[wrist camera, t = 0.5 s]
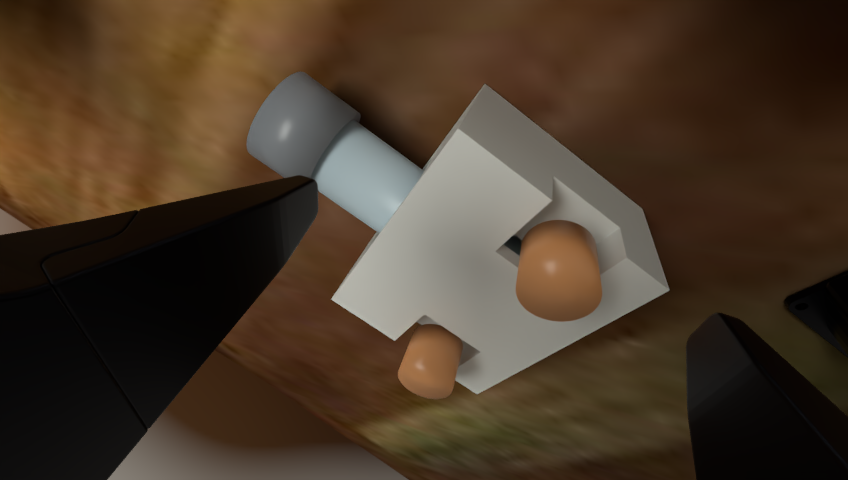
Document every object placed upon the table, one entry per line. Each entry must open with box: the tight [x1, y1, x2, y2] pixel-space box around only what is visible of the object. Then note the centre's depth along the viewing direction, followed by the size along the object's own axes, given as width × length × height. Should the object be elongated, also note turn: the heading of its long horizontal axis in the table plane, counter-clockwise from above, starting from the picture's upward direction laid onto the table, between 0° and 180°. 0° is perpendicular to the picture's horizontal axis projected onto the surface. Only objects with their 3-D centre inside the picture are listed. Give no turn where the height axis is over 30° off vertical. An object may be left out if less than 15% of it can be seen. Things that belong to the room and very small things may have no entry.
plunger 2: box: [516, 220, 602, 322], centre depth 14 cm, size 3×3×2 cm
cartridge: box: [247, 72, 522, 256], centre depth 19 cm, size 16×5×5 cm, turn 58°
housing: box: [331, 84, 670, 394], centre depth 19 cm, size 10×12×6 cm
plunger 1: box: [398, 324, 463, 399], centre depth 19 cm, size 3×3×2 cm
